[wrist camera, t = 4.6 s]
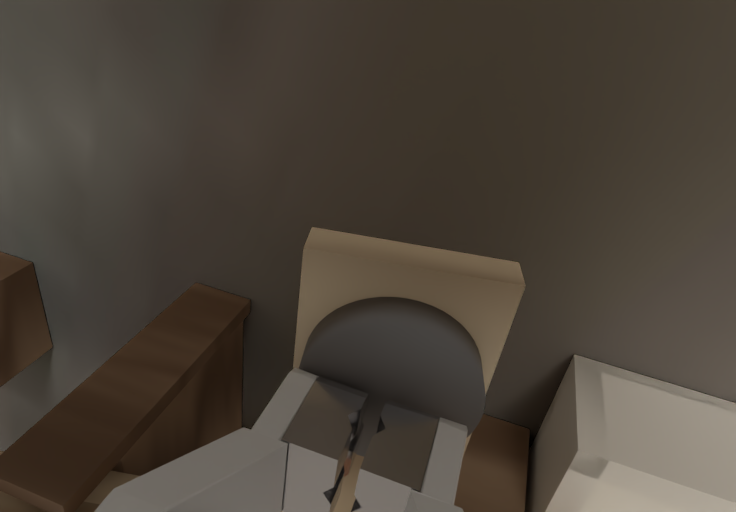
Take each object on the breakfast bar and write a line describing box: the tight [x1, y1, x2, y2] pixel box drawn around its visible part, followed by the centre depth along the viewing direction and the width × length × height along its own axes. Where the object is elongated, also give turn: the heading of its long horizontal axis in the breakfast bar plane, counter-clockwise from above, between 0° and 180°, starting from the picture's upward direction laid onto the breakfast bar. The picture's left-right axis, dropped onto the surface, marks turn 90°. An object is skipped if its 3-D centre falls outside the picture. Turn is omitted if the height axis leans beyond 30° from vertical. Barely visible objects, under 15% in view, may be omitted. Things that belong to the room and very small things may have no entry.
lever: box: [0, 227, 525, 512], centre depth 12 cm, size 15×24×4 cm, turn 81°
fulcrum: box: [0, 252, 530, 512], centre depth 19 cm, size 9×25×9 cm, turn 81°
